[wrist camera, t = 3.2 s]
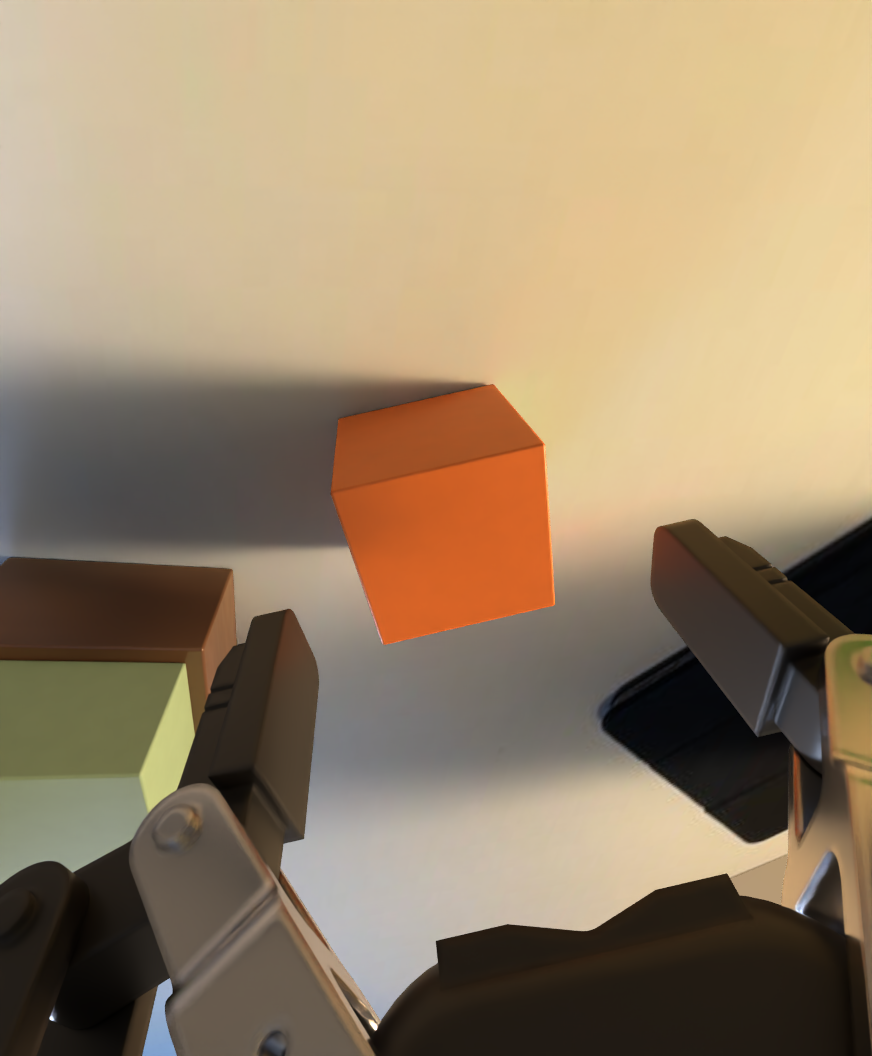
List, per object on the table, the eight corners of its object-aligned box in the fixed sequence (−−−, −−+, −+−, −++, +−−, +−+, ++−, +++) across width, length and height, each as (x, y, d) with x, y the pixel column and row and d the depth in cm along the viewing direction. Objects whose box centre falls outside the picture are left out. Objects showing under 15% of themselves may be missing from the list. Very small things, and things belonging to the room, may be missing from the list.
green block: (6, 787, 16) (-73, 914, 13) (-56, 657, 13) (-177, 784, 10) (201, 781, 17) (169, 896, 14) (186, 661, 14) (141, 775, 11)
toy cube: (376, 547, 18) (382, 646, 14) (337, 417, 15) (329, 492, 11) (509, 516, 18) (555, 606, 14) (494, 383, 15) (545, 443, 11)
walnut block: (56, 698, 20) (-7, 796, 16) (8, 556, 16) (-85, 643, 13) (240, 699, 21) (217, 789, 18) (233, 567, 17) (203, 649, 14)
